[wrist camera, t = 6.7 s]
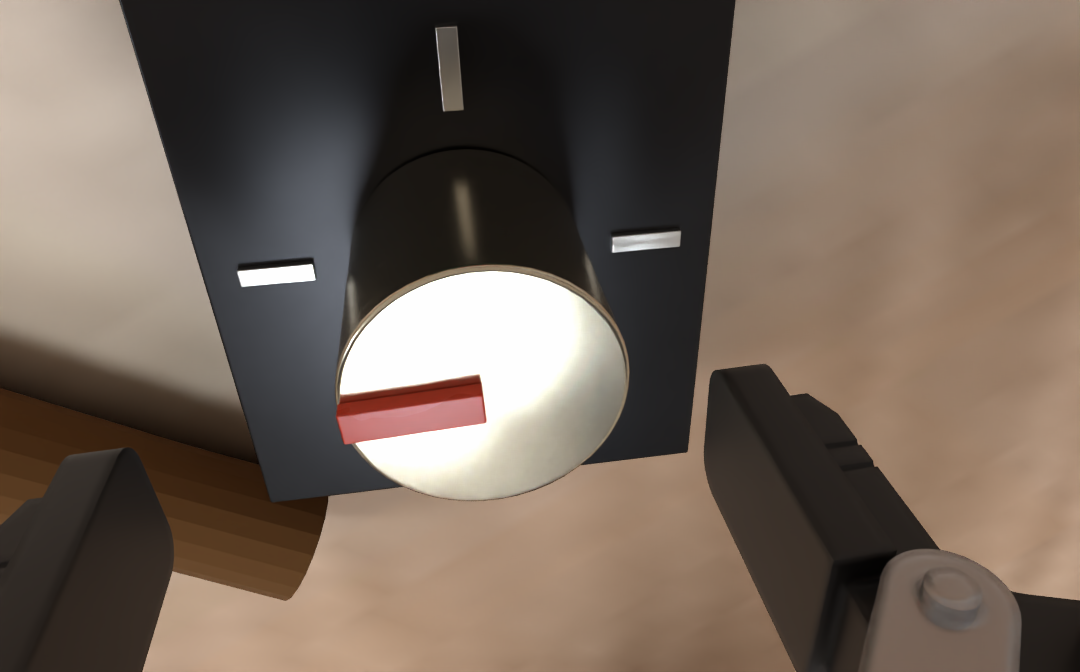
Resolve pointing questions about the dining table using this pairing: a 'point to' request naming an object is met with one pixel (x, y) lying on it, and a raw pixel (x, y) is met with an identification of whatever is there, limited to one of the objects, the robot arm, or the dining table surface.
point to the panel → (419, 130)
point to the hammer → (172, 495)
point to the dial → (474, 332)
